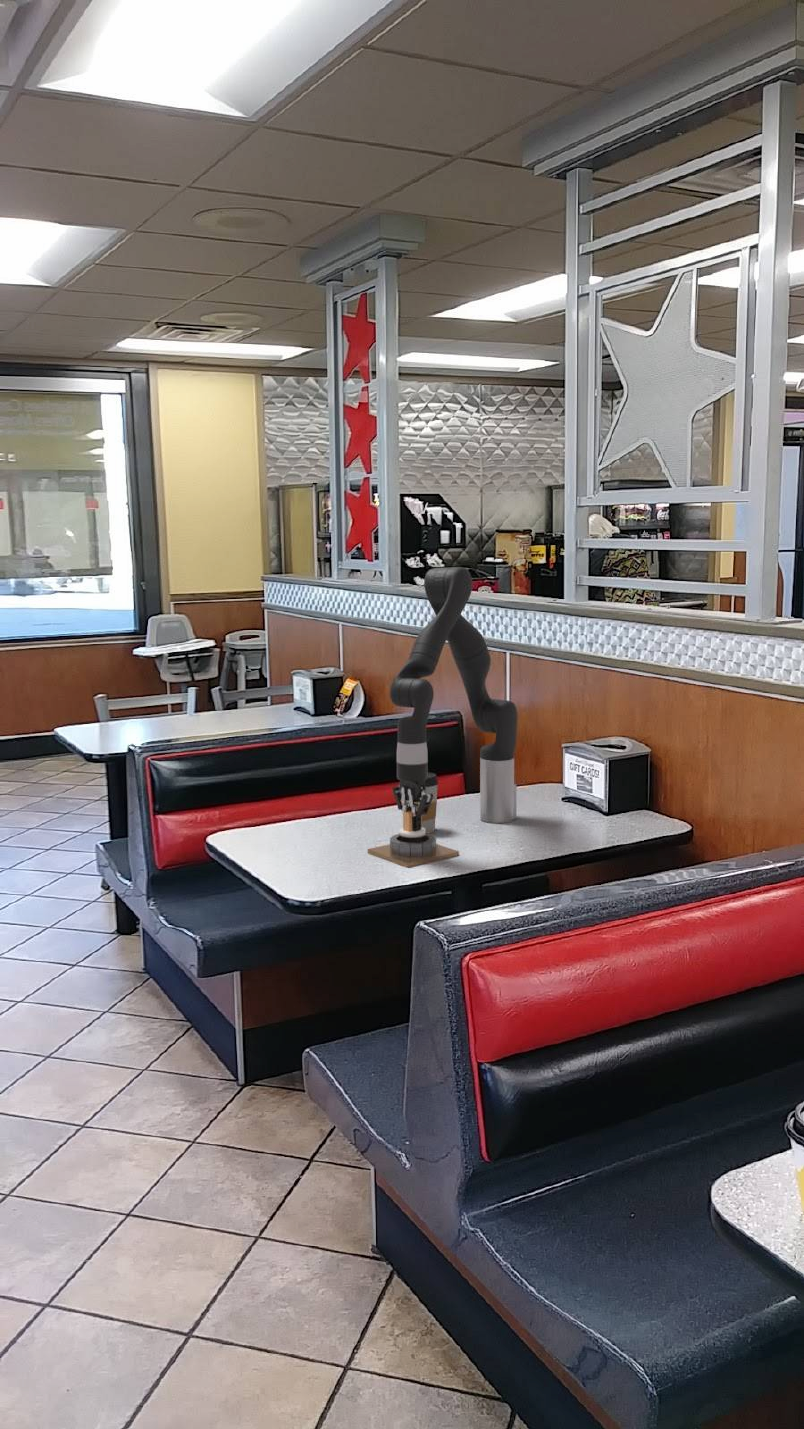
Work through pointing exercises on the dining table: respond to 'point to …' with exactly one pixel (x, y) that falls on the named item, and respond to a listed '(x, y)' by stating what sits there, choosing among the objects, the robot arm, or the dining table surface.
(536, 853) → the dining table surface
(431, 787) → the coffee cup
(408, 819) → the cap
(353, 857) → the dining table surface
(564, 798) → the dining table surface
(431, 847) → the board with grey ring
